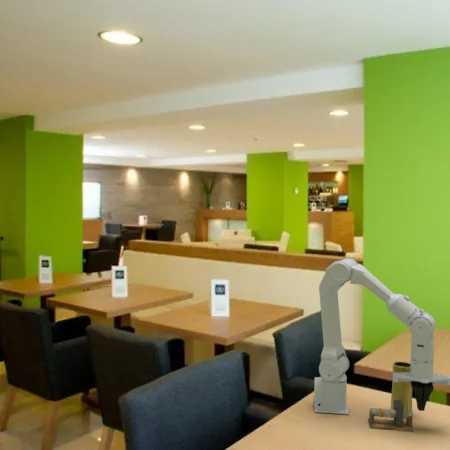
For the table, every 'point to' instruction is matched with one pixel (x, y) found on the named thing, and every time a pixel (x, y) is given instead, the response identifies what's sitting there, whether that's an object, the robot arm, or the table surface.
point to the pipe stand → (389, 423)
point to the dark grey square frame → (398, 412)
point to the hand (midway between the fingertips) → (420, 409)
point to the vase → (402, 387)
